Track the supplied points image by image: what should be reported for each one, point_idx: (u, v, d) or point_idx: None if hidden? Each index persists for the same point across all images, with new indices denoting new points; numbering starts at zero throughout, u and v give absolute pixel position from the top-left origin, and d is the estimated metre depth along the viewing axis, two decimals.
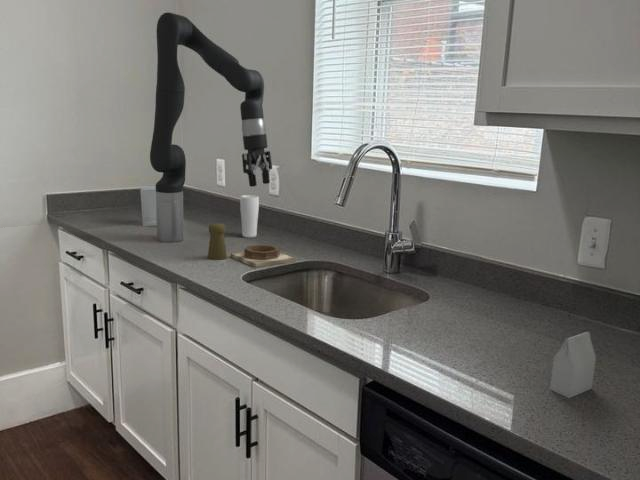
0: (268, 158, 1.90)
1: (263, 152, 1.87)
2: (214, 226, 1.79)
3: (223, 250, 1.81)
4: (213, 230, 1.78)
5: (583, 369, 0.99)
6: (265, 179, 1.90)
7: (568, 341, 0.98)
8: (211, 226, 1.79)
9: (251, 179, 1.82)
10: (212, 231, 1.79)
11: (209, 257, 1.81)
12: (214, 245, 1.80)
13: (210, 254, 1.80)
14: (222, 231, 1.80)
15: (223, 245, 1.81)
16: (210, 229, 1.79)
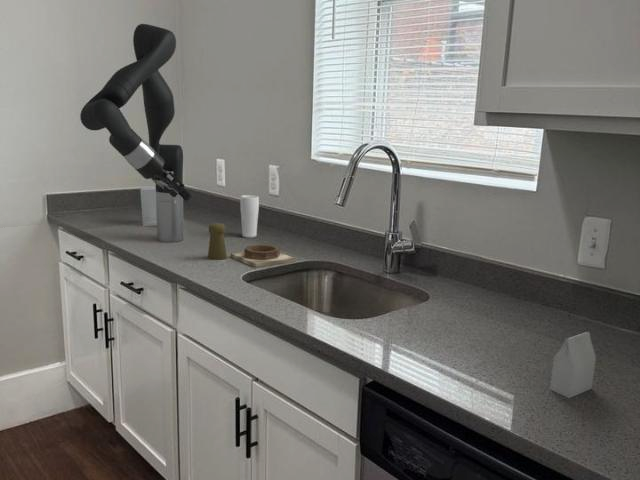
0: None
1: (159, 177, 1.63)
2: (214, 226, 1.79)
3: (223, 250, 1.81)
4: (213, 230, 1.78)
5: (583, 369, 0.99)
6: None
7: (568, 341, 0.98)
8: (211, 226, 1.79)
9: None
10: (212, 231, 1.79)
11: (209, 257, 1.81)
12: (214, 245, 1.80)
13: (210, 254, 1.80)
14: (222, 231, 1.80)
15: (223, 245, 1.81)
16: (210, 229, 1.79)
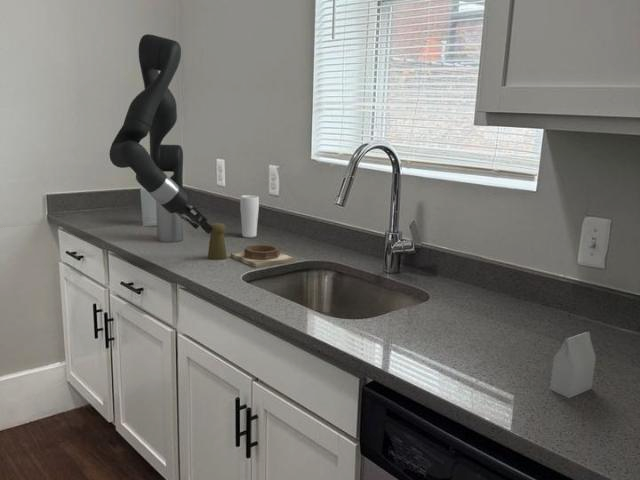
0: None
1: (183, 211, 1.70)
2: (214, 226, 1.79)
3: (223, 250, 1.81)
4: (213, 230, 1.78)
5: (582, 369, 0.99)
6: None
7: (568, 341, 0.98)
8: (211, 226, 1.79)
9: None
10: (212, 231, 1.79)
11: (209, 257, 1.81)
12: (214, 245, 1.80)
13: (210, 254, 1.80)
14: (222, 231, 1.80)
15: (223, 245, 1.81)
16: None
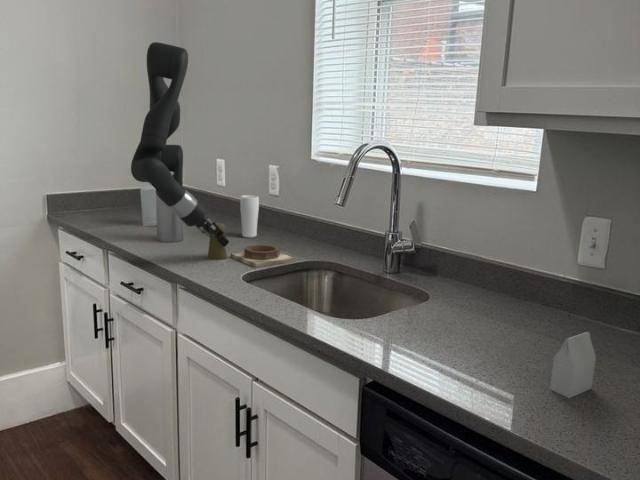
0: None
1: (201, 224, 1.74)
2: None
3: (223, 250, 1.81)
4: None
5: (583, 369, 0.99)
6: None
7: (568, 341, 0.98)
8: None
9: None
10: None
11: (209, 257, 1.81)
12: (214, 245, 1.80)
13: (210, 254, 1.80)
14: (222, 231, 1.80)
15: None
16: None
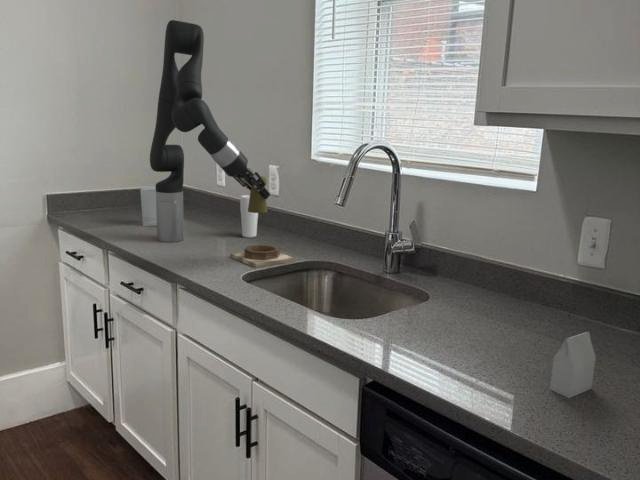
0: None
1: (243, 174, 1.70)
2: None
3: (264, 203, 1.77)
4: None
5: (582, 369, 0.99)
6: None
7: (568, 341, 0.98)
8: None
9: None
10: None
11: (250, 210, 1.76)
12: (255, 197, 1.75)
13: (251, 207, 1.76)
14: None
15: None
16: None
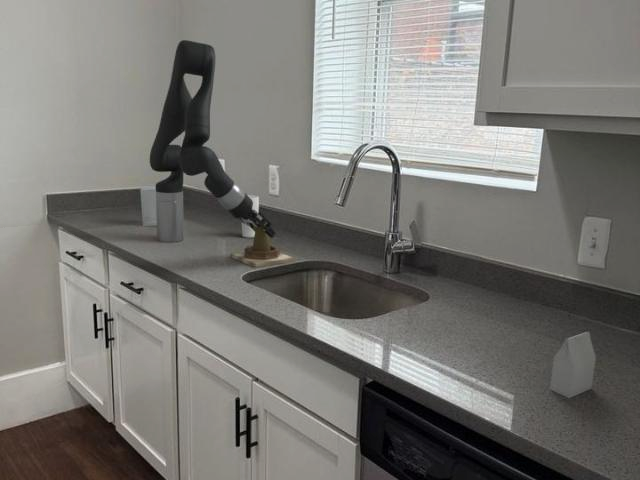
0: None
1: (248, 216, 1.73)
2: None
3: (268, 248, 1.80)
4: (258, 228, 1.77)
5: (583, 369, 0.99)
6: None
7: (568, 341, 0.98)
8: None
9: None
10: (257, 229, 1.78)
11: None
12: (259, 243, 1.78)
13: None
14: None
15: (268, 243, 1.80)
16: (255, 227, 1.78)
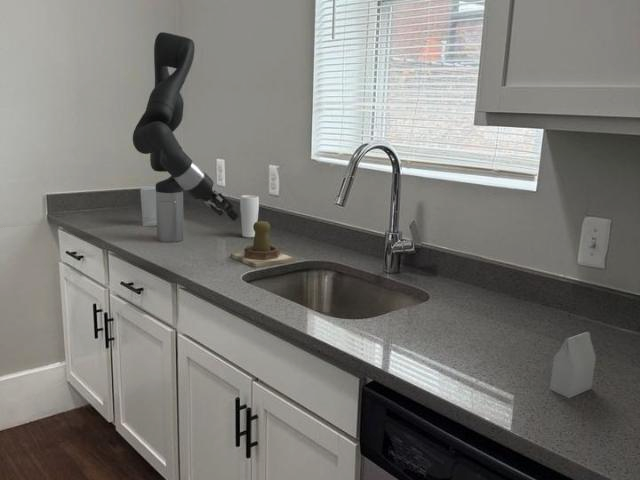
0: None
1: (208, 197, 1.64)
2: (259, 224, 1.78)
3: (268, 248, 1.80)
4: (258, 228, 1.77)
5: (583, 369, 0.99)
6: None
7: (568, 341, 0.98)
8: (256, 224, 1.78)
9: None
10: (257, 229, 1.78)
11: None
12: (259, 243, 1.79)
13: None
14: (267, 230, 1.79)
15: (268, 243, 1.80)
16: (255, 227, 1.78)
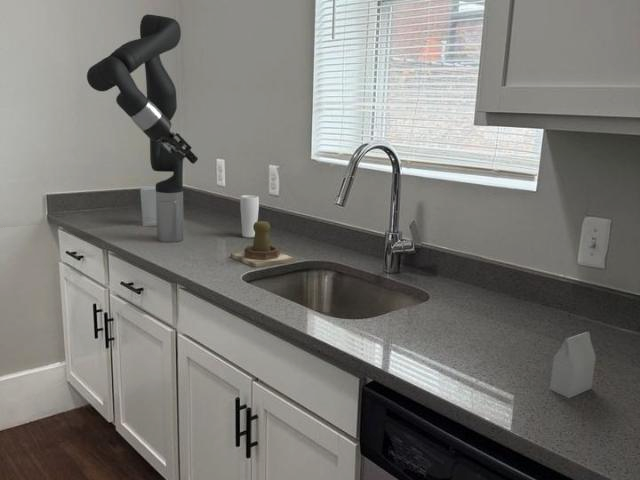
0: None
1: (166, 138, 1.64)
2: (259, 224, 1.78)
3: (268, 248, 1.80)
4: (258, 228, 1.77)
5: (582, 369, 0.99)
6: None
7: (568, 341, 0.98)
8: (256, 224, 1.78)
9: None
10: (257, 229, 1.78)
11: None
12: (259, 243, 1.79)
13: None
14: (267, 230, 1.79)
15: (268, 243, 1.80)
16: (255, 227, 1.78)
